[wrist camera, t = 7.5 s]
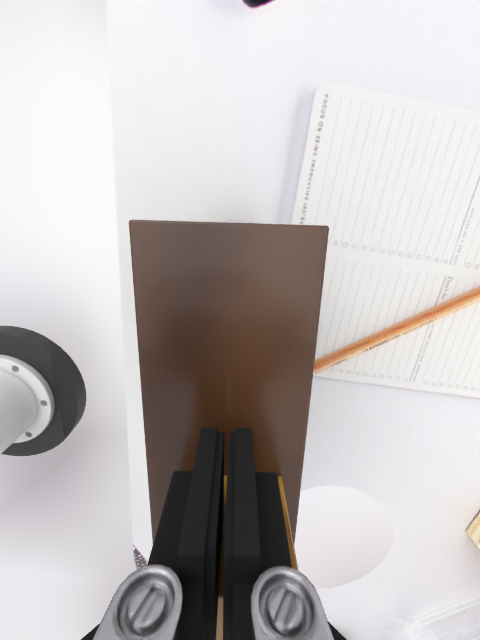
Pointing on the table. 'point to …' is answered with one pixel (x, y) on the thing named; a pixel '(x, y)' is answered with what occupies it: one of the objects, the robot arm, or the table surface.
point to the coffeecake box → (475, 531)
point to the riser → (226, 342)
